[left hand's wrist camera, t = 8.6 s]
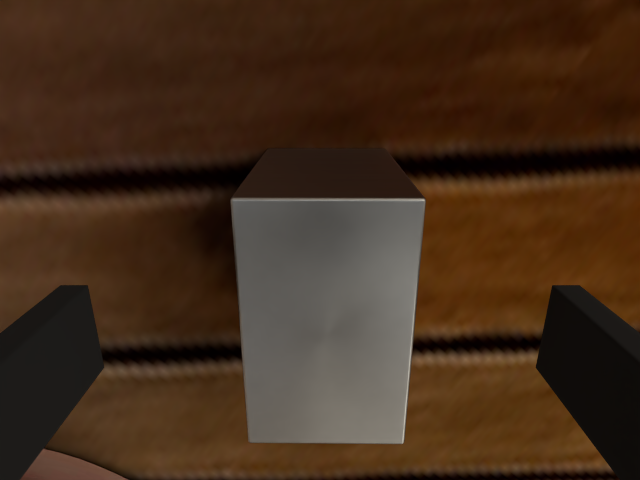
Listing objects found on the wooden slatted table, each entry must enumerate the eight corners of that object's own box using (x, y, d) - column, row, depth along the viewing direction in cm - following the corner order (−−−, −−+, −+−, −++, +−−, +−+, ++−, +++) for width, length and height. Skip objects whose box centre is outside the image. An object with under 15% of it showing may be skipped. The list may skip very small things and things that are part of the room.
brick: (377, 317, 20) (404, 445, 13) (274, 316, 20) (247, 444, 13) (386, 148, 17) (426, 198, 10) (266, 148, 17) (229, 197, 10)
